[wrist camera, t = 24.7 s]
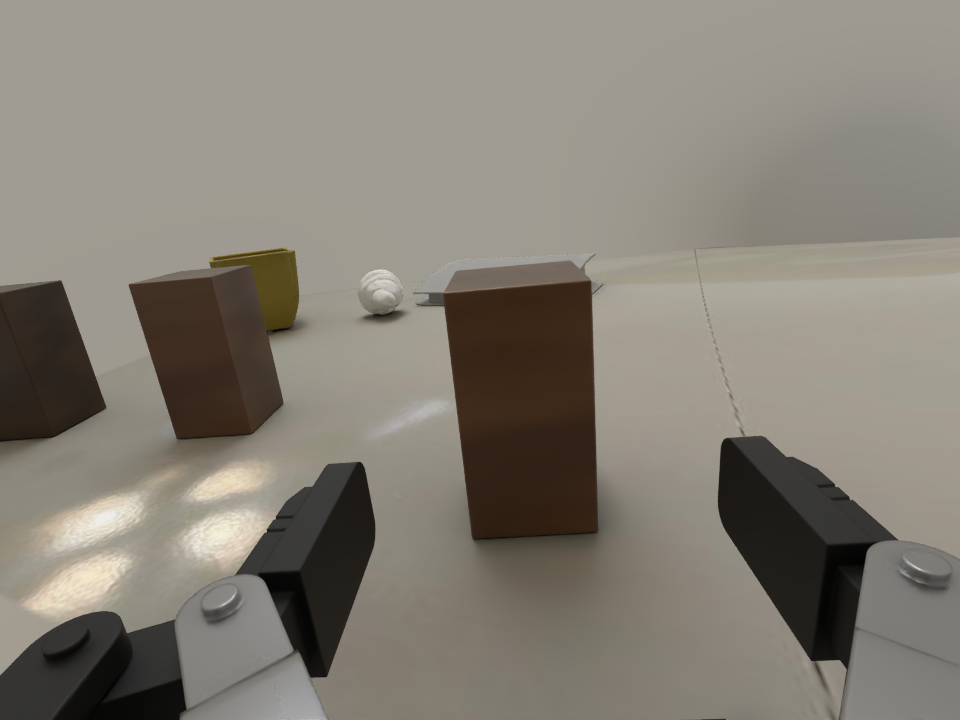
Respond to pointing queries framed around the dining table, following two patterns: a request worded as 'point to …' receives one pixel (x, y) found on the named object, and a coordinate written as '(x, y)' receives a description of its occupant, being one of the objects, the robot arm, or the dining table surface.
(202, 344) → the walnut block middle
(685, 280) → the dining table surface
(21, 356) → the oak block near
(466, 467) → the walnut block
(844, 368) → the dining table surface
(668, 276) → the dining table surface
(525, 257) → the book
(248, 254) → the flower pot
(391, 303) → the white swirl cone
